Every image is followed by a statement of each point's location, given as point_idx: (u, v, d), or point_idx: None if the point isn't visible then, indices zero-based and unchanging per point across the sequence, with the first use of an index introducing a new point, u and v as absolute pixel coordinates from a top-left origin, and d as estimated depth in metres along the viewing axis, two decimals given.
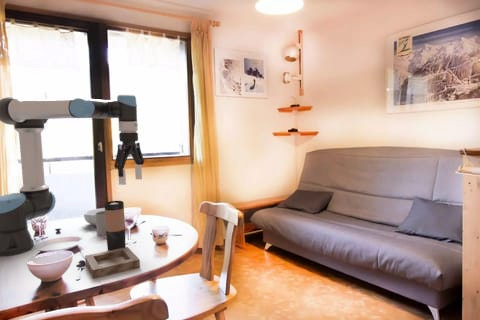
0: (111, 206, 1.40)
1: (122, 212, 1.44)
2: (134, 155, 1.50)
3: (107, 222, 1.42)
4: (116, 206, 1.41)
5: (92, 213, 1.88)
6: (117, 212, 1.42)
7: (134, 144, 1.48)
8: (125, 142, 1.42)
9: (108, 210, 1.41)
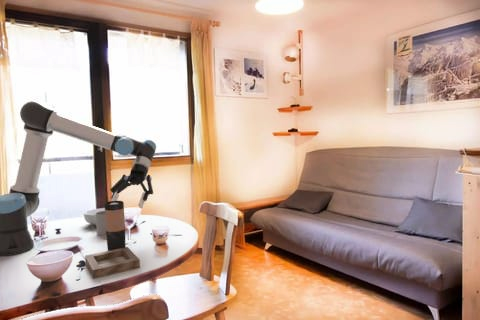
0: (111, 206, 1.40)
1: (122, 212, 1.44)
2: (126, 185, 1.59)
3: (107, 222, 1.42)
4: (116, 206, 1.41)
5: (92, 213, 1.88)
6: (117, 212, 1.42)
7: None
8: (145, 175, 1.62)
9: (108, 210, 1.41)
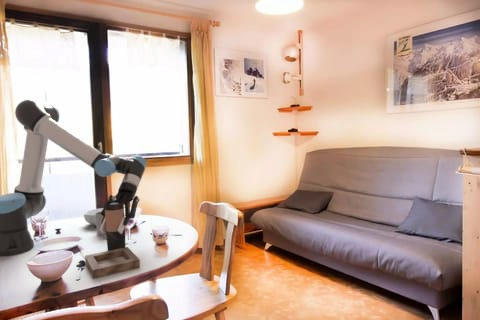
0: (111, 206, 1.40)
1: (122, 212, 1.44)
2: None
3: (107, 222, 1.42)
4: (116, 206, 1.41)
5: (92, 213, 1.88)
6: (117, 212, 1.42)
7: None
8: (134, 195, 1.53)
9: (108, 210, 1.41)
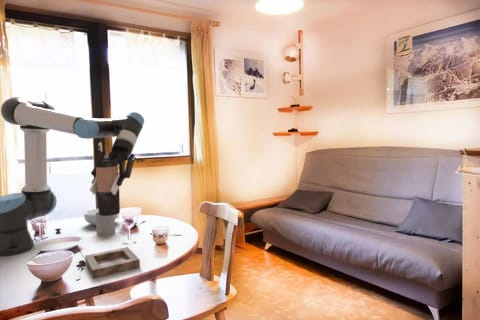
0: (103, 162, 1.21)
1: (116, 170, 1.24)
2: None
3: (98, 181, 1.23)
4: (109, 162, 1.22)
5: (92, 213, 1.88)
6: (110, 170, 1.22)
7: None
8: (130, 153, 1.33)
9: (99, 166, 1.22)
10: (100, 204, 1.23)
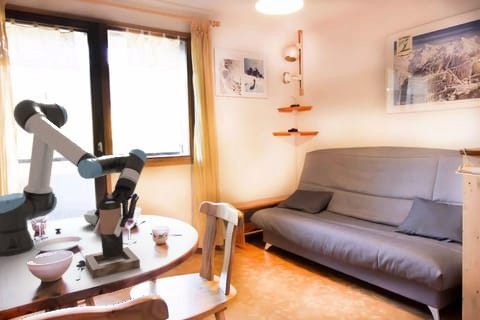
0: (106, 205, 1.23)
1: (119, 212, 1.26)
2: None
3: (102, 223, 1.24)
4: (112, 205, 1.23)
5: (92, 213, 1.88)
6: (114, 212, 1.24)
7: None
8: (133, 192, 1.35)
9: (102, 209, 1.23)
10: (104, 246, 1.25)
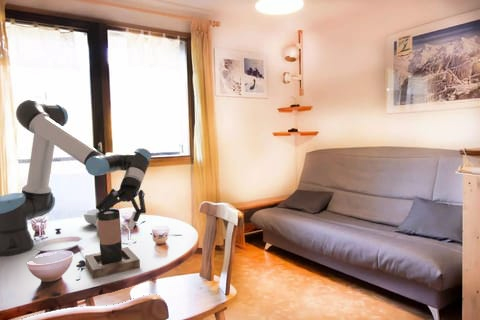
0: (105, 216, 1.23)
1: (118, 222, 1.26)
2: (115, 202, 1.36)
3: (101, 234, 1.25)
4: (111, 216, 1.24)
5: (92, 213, 1.88)
6: (112, 223, 1.24)
7: None
8: (137, 190, 1.38)
9: (101, 220, 1.24)
10: (103, 256, 1.25)
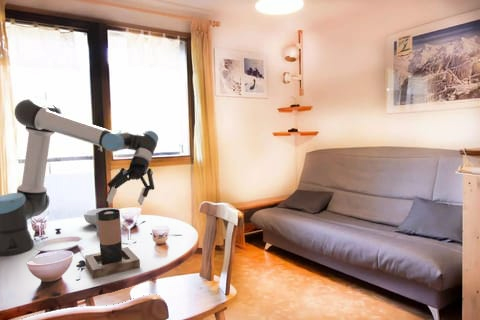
0: (105, 216, 1.23)
1: (118, 222, 1.26)
2: (125, 180, 1.44)
3: (101, 234, 1.24)
4: (111, 216, 1.24)
5: (92, 213, 1.88)
6: (113, 223, 1.24)
7: None
8: (146, 169, 1.47)
9: (101, 220, 1.24)
10: (103, 256, 1.25)
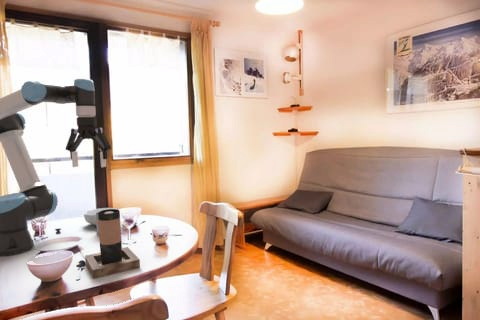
0: (105, 216, 1.23)
1: (118, 222, 1.26)
2: (80, 141, 1.47)
3: (101, 234, 1.25)
4: (111, 216, 1.24)
5: (92, 213, 1.88)
6: (113, 223, 1.24)
7: None
8: (95, 126, 1.45)
9: (101, 220, 1.24)
10: (103, 256, 1.25)
